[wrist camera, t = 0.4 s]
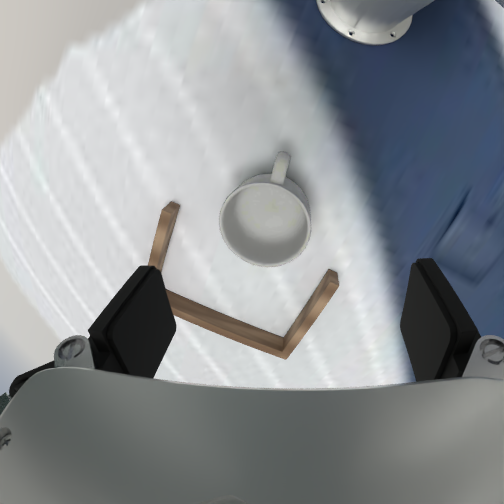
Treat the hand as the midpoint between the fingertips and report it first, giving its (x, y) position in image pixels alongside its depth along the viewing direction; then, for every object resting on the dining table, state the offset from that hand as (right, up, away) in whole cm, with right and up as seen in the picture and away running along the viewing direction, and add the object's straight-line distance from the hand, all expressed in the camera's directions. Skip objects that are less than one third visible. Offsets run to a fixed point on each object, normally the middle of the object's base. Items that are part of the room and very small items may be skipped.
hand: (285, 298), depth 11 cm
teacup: (+2, +9, +31) cm, 32 cm away
